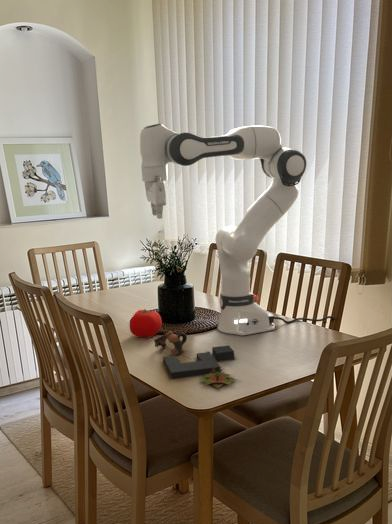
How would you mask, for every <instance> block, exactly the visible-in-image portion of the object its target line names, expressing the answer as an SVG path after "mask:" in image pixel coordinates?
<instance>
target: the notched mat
mask: <svg viewBox="0 0 392 524" xmlns="http://www.w3.org/2000/svg"><path fill="white" fill-rule="evenodd" d="M162 361H163V365H164V366H165V368H166V370H167V373H168V375H169V376H170V378H171V379H177V378H179V379H180V378H187V377H195V376H205V374H206V375H207V374H211V372H212V373H215V372H217V371H218V372H220V371H221V370H222V369H221V368H222V367H221V365H220V364H219V363H218V361H216V359H215V358H214V357H213V355H212V353H211V352H210V351H206V352H197V353H196V361H194V360H193V361H186V362H181V361H180V360H179V358H178V356H177V355H175V356H173V355H168V356H162ZM220 367H221V368H220ZM212 368H213V369H214V370H215V369H216V371H215V372H213V371H214V370H213V369H212ZM219 369H220V370H219ZM212 370H213V371H212ZM221 372H222V371H221ZM221 372H220V373H221Z"/></svg>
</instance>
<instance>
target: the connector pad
mask: <svg viewBox="0 0 392 524" xmlns="http://www.w3.org/2000/svg"><path fill="white" fill-rule="evenodd" d="M211 351H212V353H211V355H212V356H213V358H214V359H215V360H216V362H225V361H234V360H235V350H234V349H233V348H232V347H231V346H230V345H221V346H212V348H211Z"/></svg>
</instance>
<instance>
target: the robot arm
mask: <svg viewBox="0 0 392 524" xmlns="http://www.w3.org/2000/svg"><path fill="white" fill-rule="evenodd" d="M139 153H140V157H141V166H140V167H141V181H142V182H144V189H145V196H146V200H147V202H149V203H150V208H151V215H153V217H155V216H156V218H157V219H158V220H161V219H163V211H164V206H166V205H167V191H166V190H167V189H166V184H165V182H166V181H168V180H169V177H168V176H169V173H168V171H169V170H168V164H169V163H172V164H176V165H180V166H182V167H183V166H184V167H186V166H187V167H188V166H192V165H194V164H196V163H197V162H198V161H201V160H202V159H205V158H206V159H207V158H216V157H229V158H231V159H232V160H239V161H247V160H249V161H250V160H257V159H259V162H260V167H261V170H262V172H263V174H265V175H266V176H267V177H269V178H271V179H272V180H271V183H270V185H269V186H268V188H267V189H266V190H265V191H264V192H263V193H262V194H261V195H260V196H259V197H258V198H257V199H256V200H255V201H254V202H253V203H252V204H251V205H250V206H249V207H248V208H247V210H246V212H245V214H244V216H243V218H242V219H241V222H240V223H239V224H238V225H237V226H234V225H228V226H227V225H226V226H224V227H221V228H220V229H219V230H218V231H217V232H216V235H215V238H214V240H215V244H216V250H217V256H218V257H217V258H218V264H219V269H220V294H219V308H220V312H219V320H218V324H217V330H218V331H219V332H221V333H225V334H231V335H237V336H247V335H254V334H259V333H263V332H271V331H274V330H275V329H276V326H275V324H274V321H275V320H280V321H283V323H285V324H291V323H294V322H296V321H309V322H324V321H326V320H327V319H331V320H335V318H334V317H333V315H332V316H331V315H328V316H325V317H323V318H320V319H315V318H307V317H296V318H294V319H292V320H286V319H285V318H283V317H280V316H274V315H273V314H272V313H271V312H267V310H266V309H265V308H264V307H262V306H261V305H260V304H258V303H257V301H259V295H257V294H254V293H252V292H251V273H250V269H249V265H248V261H249V260H252V259H253V258H254V257H255V256H256V254H257V252H258V248H259V246H260V244H261V243H262V241H263V240H264V238H265V236H266V235H267V234H268V232H269V231H270V230H271V229H272V228H273V227H274V226H275V225H276V224H277V222H279V220H281V218H282V217H284V215H285V214H286V213H287V212H288V211H289V210H290V208H291V207H292V206H293V205H294V203H295V202H296V200H297V199H298V197H299V188H298V186H297V185H298V184H299V183H300V182H301V179H302V177H303V175H304V174H305V172H306V169H307V159H306V157H305V155H304V154H303V153H302V152H301V151H299V150H298V149H295V148H289V147H284V146H283V145H282V137H281V134H280V132H279V131H278V129H277V128H276V127H272V126H267V125H247V126H246V125H245V126H240V127H237V128H233V129H230V130H229V131H228V133H226V134H224V135H218V136H217V135H215V136H206V137H203V136H202V137H201V136H198V135H196V134H194V133H191V132H181V133H178V132H176V131H173V130H172V129H170V128H167V127H166V126H165V125H164V124H162V123H156V124H155V123H154V124H150V125H147V126H145V127H143V128H142V129H141V130H140V134H139Z"/></svg>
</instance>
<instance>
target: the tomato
mask: <svg viewBox="0 0 392 524" xmlns="http://www.w3.org/2000/svg"><path fill="white" fill-rule="evenodd" d="M162 322H163V320H162V316H161V314H159V313H158V312H157V311H155V310H154V309H153V310H149V309H146V308H144V309H138V310H137V311H136V312H134V314H133V315H132V317H131V318H130V320H129V331H130V332H131V334H132V335H133V336H135V337H137V338H142V339H143V338H144V339H147V338H151V337H152V338H153V337H154V336H156V335H157V334H158V333H159V332H160V330H161V328H162V324H163V323H162Z"/></svg>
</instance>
